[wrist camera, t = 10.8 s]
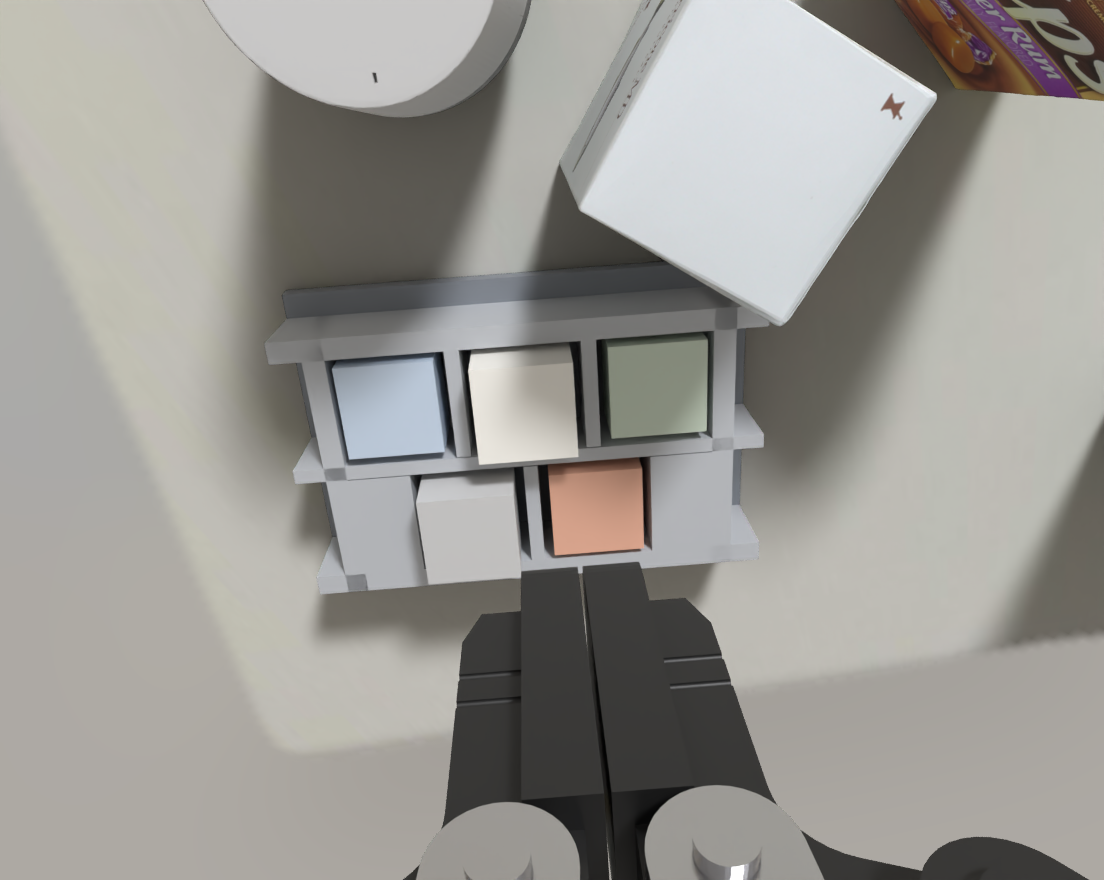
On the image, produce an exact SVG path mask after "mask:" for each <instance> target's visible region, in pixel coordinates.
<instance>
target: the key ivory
mask: <svg viewBox="0 0 1104 880" xmlns="http://www.w3.org/2000/svg"><path fill="white" fill-rule="evenodd" d="M468 373H469V382H470V390H471V399H472V407H473V416H474V425H475V433H476V442H477V450H478V459H479V465H483V464H496V463H509V462H521V461H534V460H547V459H559V458H572V457H579V456H578V440H577V423H576V406H575V389H574V373H573V361H572V356H571V351H570V346H569V342H559V343H547V344H534V345H521V346H508V347H495V348H482V349H472V350H471V356H470V363H469V369H468Z"/></svg>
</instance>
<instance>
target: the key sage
mask: <svg viewBox="0 0 1104 880" xmlns="http://www.w3.org/2000/svg"><path fill="white" fill-rule="evenodd" d="M601 344H602V367H603V390H604V412H605V415H606V419H607V423H608V427H609V431H610V434H611V438H612V439H614V438H626V437H639V436H652V435H665V434H677V433H690V432H703V431H707V365H708V339H707V338H706V337H705V335H704V334H703V332H689V333H676V334H663V335H650V336H637V337H624V338H611V339H601Z"/></svg>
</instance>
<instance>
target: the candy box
mask: <svg viewBox="0 0 1104 880" xmlns="http://www.w3.org/2000/svg"><path fill="white" fill-rule="evenodd" d="M895 2H896V3H897V5H898V6H899V8H900V9H901V10H902V11H903V13H904V15H905V16H906V17H907V18H908V20H909V21H910V23H911V24H912V26H913V27H914V29H915V30H916V31H917V33H918V34H919V36H920V37H921V39H922V40H923V42H924V43H925V44H926V46H927V47H928V48H929V50H930V51H931V52H932V54H933V55H934V57H935V58H936V59H937V61H938V62H939V64H940V65H941V67H942V68H943V70H944V71H945V73H946V74H947V76H948V77H949V79H950V80H951V82H952V83H953V85H954V87H955V88H956V89H961V90H978V91H992V92H1004V93H1015V94H1022V95H1034V96H1055V97H1068V98H1079V99H1088V100H1098V101H1104V0H895Z"/></svg>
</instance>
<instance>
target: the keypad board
mask: <svg viewBox="0 0 1104 880" xmlns="http://www.w3.org/2000/svg"><path fill="white" fill-rule="evenodd" d="M282 298H283V303H284V308H285V313H286V317H287V319H286V320H285V321H284V322H283V323H282V324H281V325H280V327H279V328H278V329H277V330H276V331H275V332H274V333H273V334H272V335H271V336H270V337H269V338H268V339H267V341H266V342H265V343H264V346H265V350H266V355H267V359H268V364H269V365H275V364H288V363H296V365H297V370H298V375H299V379H300V384H301V389H302V394H303V399H304V403H305V408H306V413H307V418H308V422H309V427H310V432H311V437H312V438H311V440H310V441H309V443H308V445H307V447H306V449H305V450H304V452H303V454H302V456H301V458H300V459H299V461H298V463H297V465H296V466H295V468H294V470H293V475H294V480H295V484H304V483H316V482H321V485H322V489H323V494H324V499H325V504H326V509H327V513H328V518H329V523H330V528H331V532H332V540H331V542H330V545H329V547H328V550H327V552H326V555H325V557H324V560H323V562H322V565H321V568H320V570H319V573H318V575H317V582H318V587H319V591H320V594H331V593H343V592H356V591H368V590H381V589H393V588H405V587H418V586H430V585H443V584H455V583H468V582H480V581H493V580H505V579H518V578H521V577H517V578H504V579H492V580H479V581H467V582H454V583H442V584H428V577H427V571H426V564H425V558H424V552H423V545H422V539H421V532H420V526H419V520H418V513H417V507H416V500H417V496H418V492H419V487H420V483H421V479H422V474H430V473H443V472H456V471H468V470H481V469H494V468H506V467H514V472H515V482H516V493H517V503H518V513H519V524H520V534H521V570H522V571H529V570H541V569H554V568H566V567H578V573H579V574H580V573H583V571H582V566H589V565H601V564H614V563H626V562H639V563H640V566H641V569H642V568H655V567H667V566H679V565H692V564H704V563H717V562H729V561H742V560H754V559H758V558H759V541H758V539H757V537H756V535H755V533H754V531H753V529H752V527H751V526H750V524H749V522H748V520H747V518H746V516H745V514H744V512H743V510H742V508H741V506H740V479H741V449H747V448H760V447H764V433H763V432H762V431H761V429H760V428H759V426H758V425H757V423H756V422H755V420H754V419H753V418H752V416H751V415H750V413H749V412H748V410H747V409H746V407H745V406H744V405H743V388H744V358H745V328H753V327H766V326H769V321H767V320H765V319H764V318H762V317H760V316H758V315H757V314H755V313H753V312H752V311H750V310H748V309H746V308H745V307H743V306H741V305H740V304H738V303H736V302H734V301H733V300H731V299H729V298H728V297H726V296H724V295H722V294H721V293H719V292H717V291H716V290H714V289H712V288H711V287H709V286H707V285H706V284H704V283H702V282H700V281H699V280H697V279H695V278H694V277H692V276H690V275H689V274H687V273H685V272H684V271H682V270H680V269H679V268H677V267H675V266H674V265H672V264H670V263H668V262H667V261H663V262H650V263H637V264H624V265H611V266H598V267H585V268H572V269H559V270H546V271H533V272H519V273H506V274H493V275H480V276H467V277H454V278H441V279H428V280H415V281H402V282H389V283H376V284H363V285H349V286H336V287H323V288H310V289H297V290H286V291H285V292H284V293H283V294H282ZM689 332H703V334H704V335H705V337H706V338H707V339H708V365H707V431H703V432H690V433H677V434H665V435H652V436H639V437H626V438H614V439H612V438H611V434H610V431H609V427H608V423H607V419H606V415H605V412H604V390H603V367H602V344H601V339H611V338H624V337H637V336H650V335H663V334H676V333H689ZM559 342H569V346H570V351H571V356H572V361H573V373H574V389H575V406H576V423H577V440H578V456H579V457H572V458H559V459H547V460H534V461H521V462H509V463H496V464H483V465H479V459H478V450H477V442H476V433H475V425H474V416H473V407H472V399H471V390H470V382H469V373H468V369H469V363H470V356H471V350H472V349H482V348H495V347H508V346H521V345H534V344H547V343H559ZM430 352H441V358H442V366H443V373H444V381H445V389H446V396H447V404H448V412H449V419H450V427H449V432H448V437H447V443H446V448H445V452H438V453H426V454H413V455H400V456H388V457H375V458H362V459H349V456H348V451H347V446H346V440H345V435H344V430H343V425H342V419H341V414H340V409H339V404H338V398H337V393H336V388H335V383H334V377H333V372H332V368H333V366H334V365H335V363H336V362H337V360H340V359H353V358H366V357H378V356H391V355H404V354H417V353H430ZM633 457H639V460H640V463H641V466H642V485H643V527H644V548H641V549H628V550H616V551H603V552H591V553H578V554H566V555H555V551H554V539H553V527H552V515H551V502H550V489H549V476H548V464H557V463H570V462H582V461H595V460H608V459H620V458H633Z"/></svg>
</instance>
